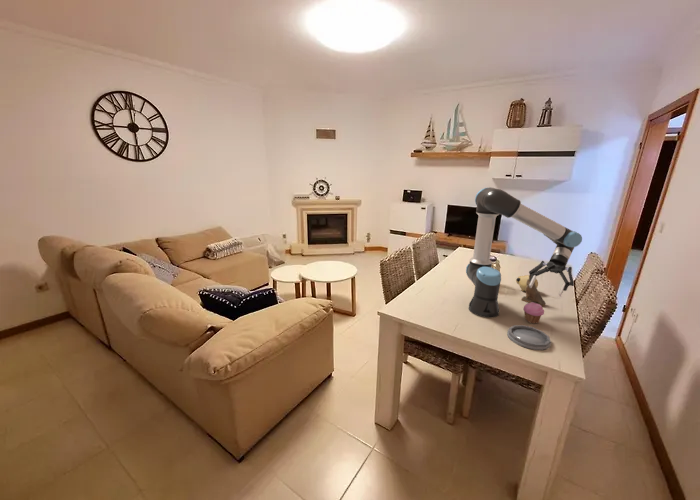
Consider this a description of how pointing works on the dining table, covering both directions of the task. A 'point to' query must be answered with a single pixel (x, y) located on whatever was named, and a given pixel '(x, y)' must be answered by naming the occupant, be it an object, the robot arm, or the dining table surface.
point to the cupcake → (533, 312)
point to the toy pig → (524, 282)
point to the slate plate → (529, 337)
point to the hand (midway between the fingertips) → (544, 290)
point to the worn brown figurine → (533, 294)
